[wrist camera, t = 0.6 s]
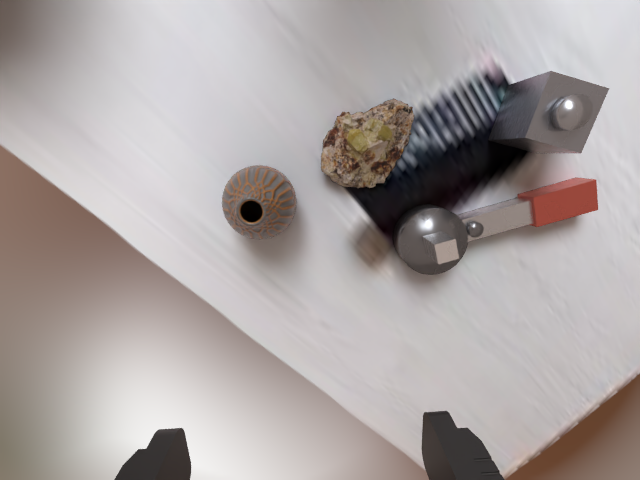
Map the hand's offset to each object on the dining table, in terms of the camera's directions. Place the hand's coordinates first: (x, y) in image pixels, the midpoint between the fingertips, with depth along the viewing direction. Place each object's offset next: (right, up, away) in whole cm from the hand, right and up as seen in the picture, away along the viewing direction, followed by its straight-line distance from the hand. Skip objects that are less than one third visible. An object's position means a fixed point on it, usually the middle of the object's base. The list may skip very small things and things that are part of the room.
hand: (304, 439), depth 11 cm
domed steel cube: (+21, +19, +23) cm, 36 cm away
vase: (-5, +11, +24) cm, 27 cm away
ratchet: (+19, +9, +25) cm, 33 cm away
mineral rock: (+5, +17, +23) cm, 29 cm away
